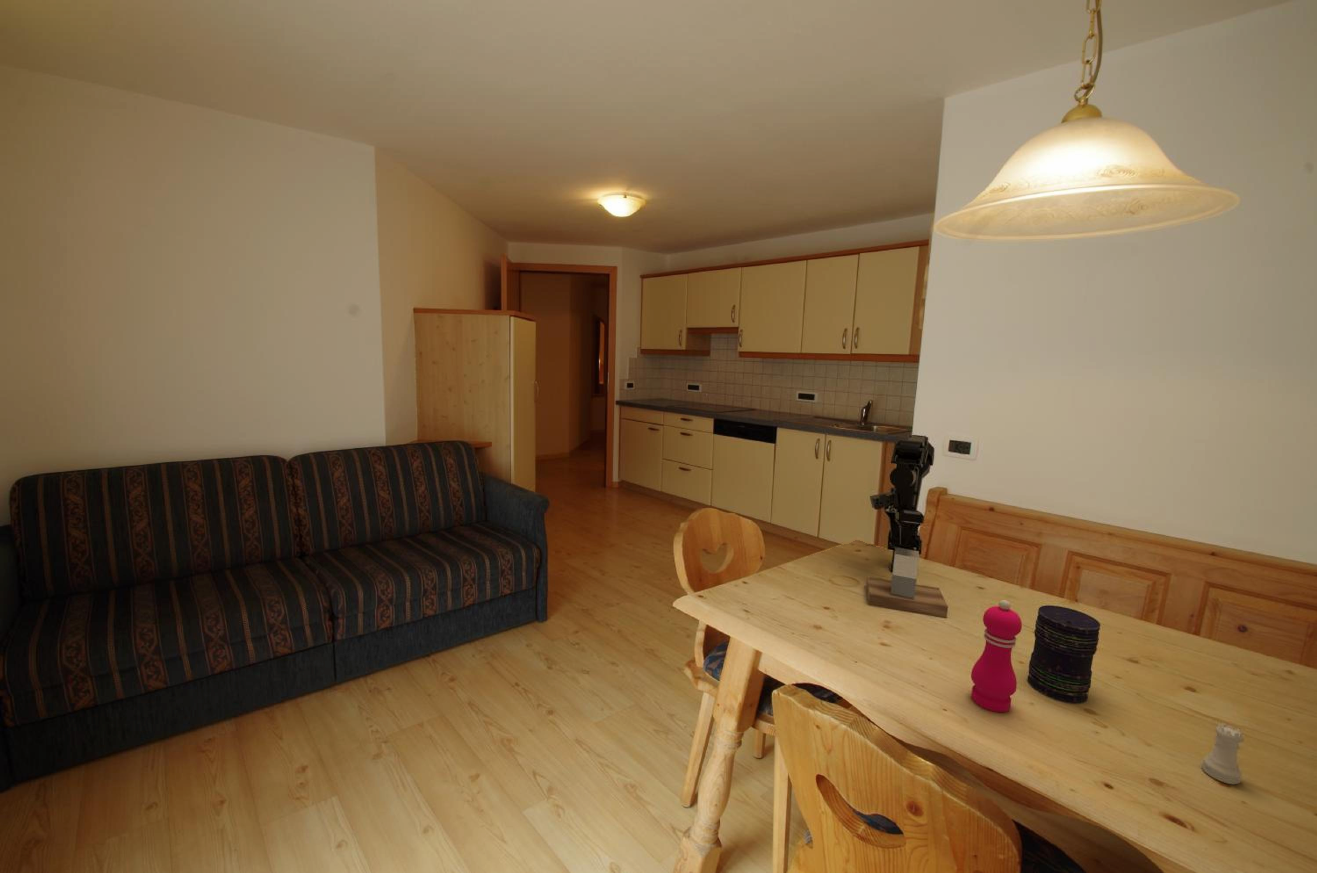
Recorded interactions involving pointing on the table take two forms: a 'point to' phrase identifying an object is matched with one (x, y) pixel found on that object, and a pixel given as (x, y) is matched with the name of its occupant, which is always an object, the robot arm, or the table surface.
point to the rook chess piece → (1224, 755)
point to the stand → (923, 603)
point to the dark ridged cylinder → (1063, 653)
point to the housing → (904, 573)
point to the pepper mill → (996, 659)
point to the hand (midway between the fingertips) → (897, 541)
